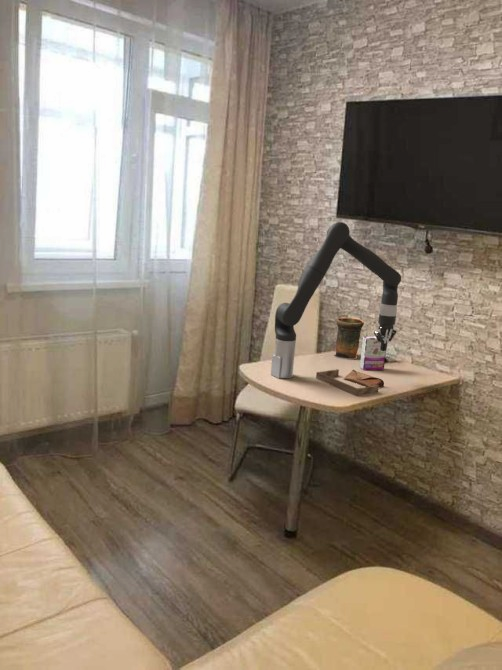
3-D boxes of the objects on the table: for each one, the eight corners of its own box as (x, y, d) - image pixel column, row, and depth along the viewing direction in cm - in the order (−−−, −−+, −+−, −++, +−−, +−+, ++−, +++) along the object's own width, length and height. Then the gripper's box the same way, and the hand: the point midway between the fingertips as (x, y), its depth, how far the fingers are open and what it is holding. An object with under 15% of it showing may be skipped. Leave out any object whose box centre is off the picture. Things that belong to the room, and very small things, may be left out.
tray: (356, 396, 233) (357, 389, 232) (315, 378, 253) (316, 372, 253) (378, 392, 240) (378, 385, 239) (336, 375, 261) (337, 369, 260)
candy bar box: (379, 367, 280) (383, 336, 276) (384, 370, 275) (388, 338, 271) (359, 367, 277) (362, 335, 274) (362, 370, 273) (366, 337, 269)
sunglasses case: (340, 378, 256) (346, 365, 257) (347, 383, 261) (353, 371, 262) (373, 389, 243) (379, 375, 244) (380, 394, 248) (386, 381, 249)
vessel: (365, 357, 298) (369, 320, 293) (351, 361, 288) (354, 324, 283) (342, 351, 307) (346, 315, 303) (328, 355, 297) (331, 319, 292)
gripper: (391, 311, 259) (386, 347, 263) (371, 313, 251) (367, 350, 255) (403, 314, 253) (399, 351, 257) (384, 316, 245) (379, 354, 249)
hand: (383, 350), depth 256 cm, fingers closed
